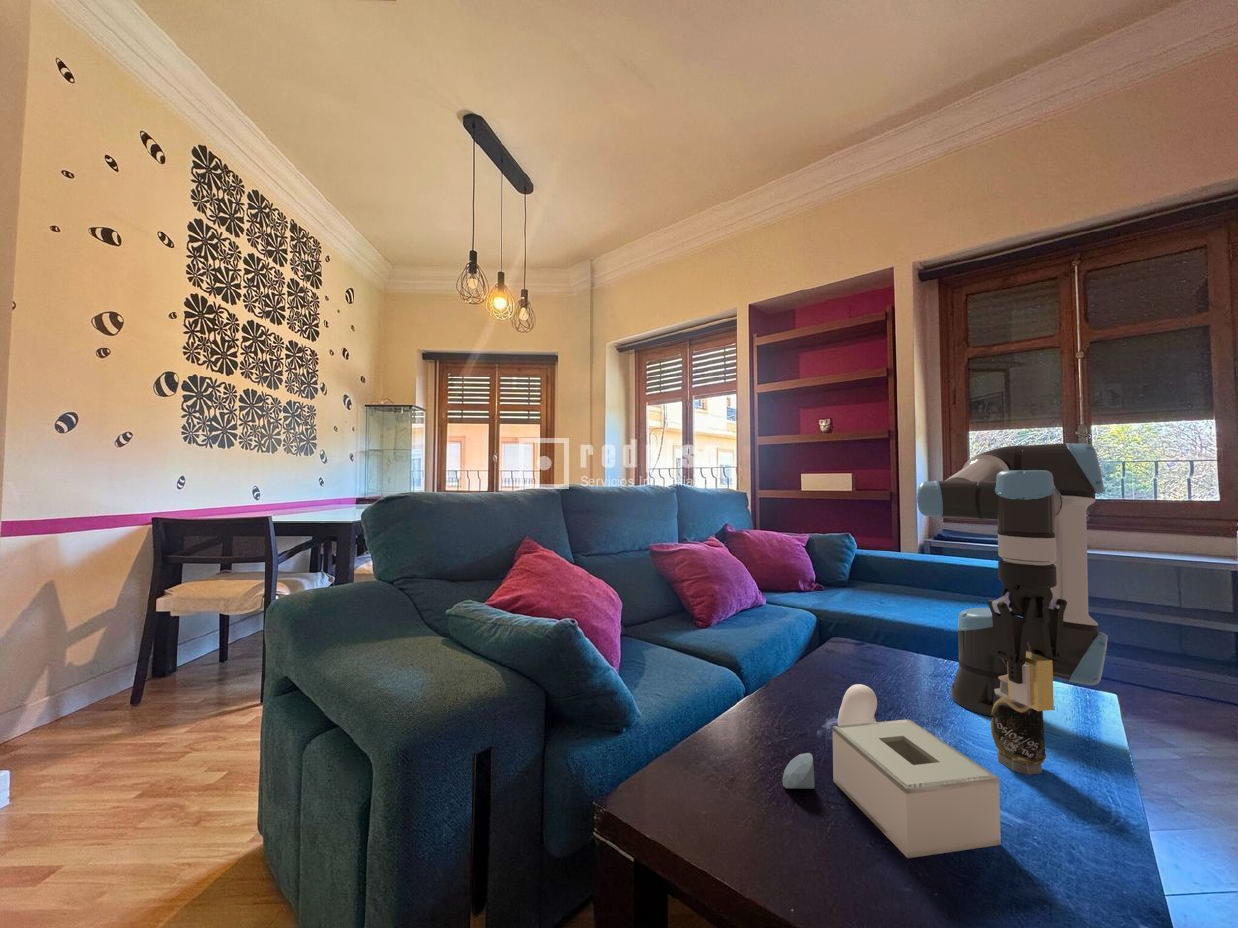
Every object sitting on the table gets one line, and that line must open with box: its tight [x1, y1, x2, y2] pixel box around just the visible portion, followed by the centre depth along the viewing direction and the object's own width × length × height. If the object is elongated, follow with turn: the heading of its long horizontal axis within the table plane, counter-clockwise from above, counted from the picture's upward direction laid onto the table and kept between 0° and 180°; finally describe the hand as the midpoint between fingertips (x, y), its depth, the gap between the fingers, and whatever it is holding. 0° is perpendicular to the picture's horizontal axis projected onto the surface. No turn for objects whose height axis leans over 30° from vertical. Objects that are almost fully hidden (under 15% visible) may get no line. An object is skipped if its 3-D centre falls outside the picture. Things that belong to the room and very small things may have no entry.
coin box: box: [832, 718, 1002, 859], centre depth 80 cm, size 16×18×10 cm
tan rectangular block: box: [1007, 651, 1055, 712], centre depth 80 cm, size 3×5×8 cm, turn 9°
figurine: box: [837, 683, 878, 726], centre depth 101 cm, size 7×8×12 cm
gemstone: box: [782, 752, 815, 790], centre depth 86 cm, size 8×8×5 cm
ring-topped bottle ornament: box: [990, 642, 1048, 776], centre depth 93 cm, size 9×8×25 cm
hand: (1030, 700), depth 80 cm, fingers closed on tan rectangular block, 3 cm apart
